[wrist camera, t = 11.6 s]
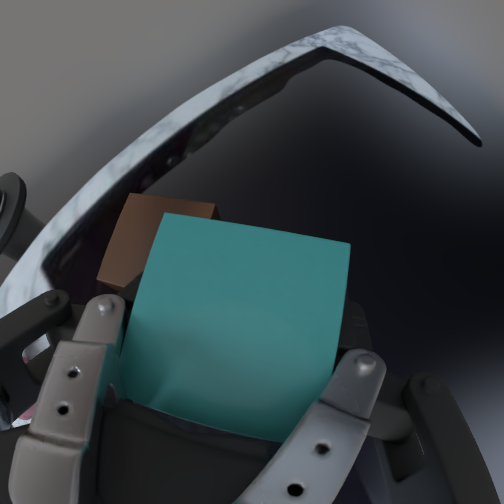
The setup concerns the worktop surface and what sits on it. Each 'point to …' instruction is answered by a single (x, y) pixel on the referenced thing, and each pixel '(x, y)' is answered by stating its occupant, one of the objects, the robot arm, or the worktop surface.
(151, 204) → the brown block
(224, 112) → the worktop surface
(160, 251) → the square toy
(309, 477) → the robot arm
